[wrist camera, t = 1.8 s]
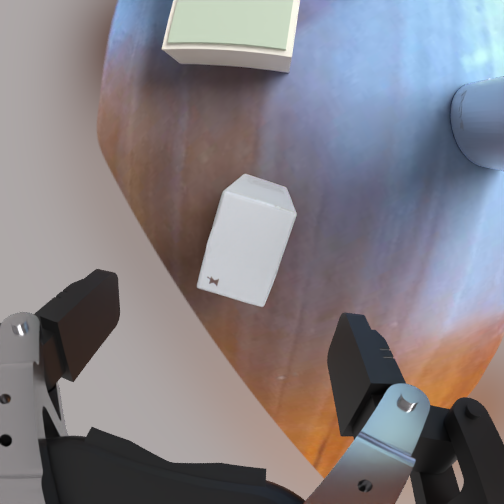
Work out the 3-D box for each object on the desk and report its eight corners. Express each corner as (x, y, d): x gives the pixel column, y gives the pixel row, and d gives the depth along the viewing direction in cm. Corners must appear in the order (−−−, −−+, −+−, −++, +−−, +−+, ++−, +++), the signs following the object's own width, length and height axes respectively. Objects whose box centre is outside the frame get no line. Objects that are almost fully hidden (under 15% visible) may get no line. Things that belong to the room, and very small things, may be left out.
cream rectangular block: (301, -12, 20) (305, -40, 15) (288, 72, 23) (291, 56, 18) (199, -19, 20) (185, -44, 15) (180, 63, 23) (160, 48, 18)
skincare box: (268, 246, 29) (263, 311, 17) (225, 232, 28) (192, 289, 17) (289, 185, 26) (299, 213, 15) (243, 171, 26) (219, 188, 15)
